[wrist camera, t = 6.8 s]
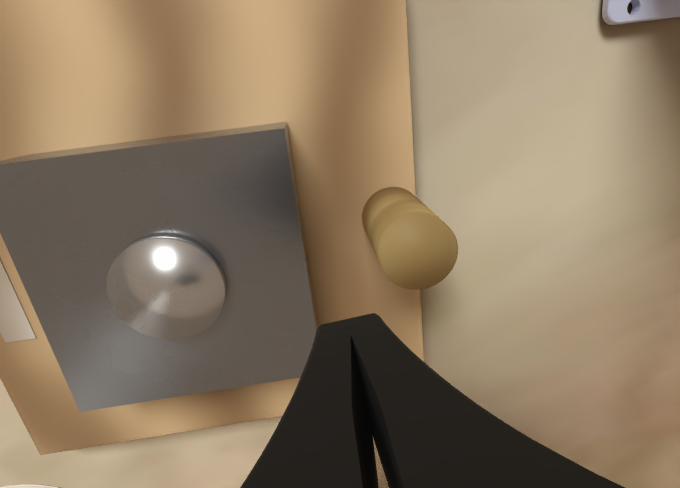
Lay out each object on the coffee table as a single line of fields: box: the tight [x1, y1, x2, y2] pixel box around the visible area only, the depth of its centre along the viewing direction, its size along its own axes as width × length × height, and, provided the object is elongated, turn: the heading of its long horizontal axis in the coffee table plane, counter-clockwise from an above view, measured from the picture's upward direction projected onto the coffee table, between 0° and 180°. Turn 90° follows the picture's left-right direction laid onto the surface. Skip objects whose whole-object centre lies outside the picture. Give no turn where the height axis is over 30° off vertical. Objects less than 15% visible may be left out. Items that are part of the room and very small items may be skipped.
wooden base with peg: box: [0, 0, 458, 455], centre depth 14 cm, size 18×18×5 cm
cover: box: [0, 122, 319, 412], centre depth 14 cm, size 9×9×3 cm
